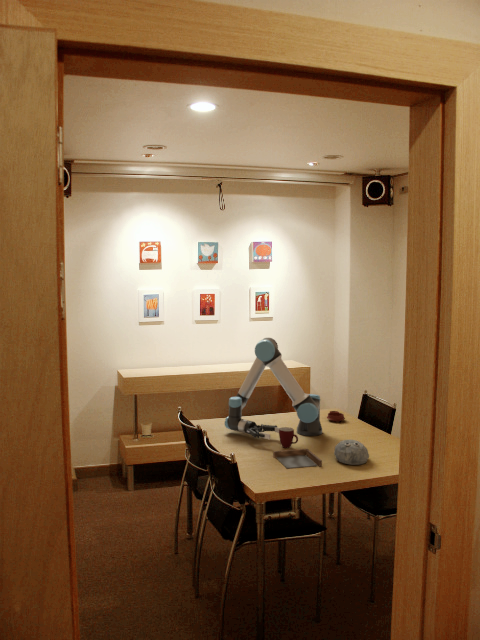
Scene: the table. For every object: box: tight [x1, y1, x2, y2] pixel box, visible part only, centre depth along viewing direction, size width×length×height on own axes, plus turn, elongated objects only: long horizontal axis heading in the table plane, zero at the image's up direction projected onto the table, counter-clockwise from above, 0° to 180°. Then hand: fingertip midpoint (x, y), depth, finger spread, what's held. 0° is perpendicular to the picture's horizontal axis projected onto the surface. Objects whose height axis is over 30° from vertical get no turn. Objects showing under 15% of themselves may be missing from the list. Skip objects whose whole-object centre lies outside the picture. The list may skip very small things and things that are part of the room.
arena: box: [272, 448, 323, 470], centre depth 278 cm, size 19×19×3 cm
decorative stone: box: [333, 439, 370, 466], centre depth 281 cm, size 18×21×10 cm
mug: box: [278, 426, 299, 449], centre depth 300 cm, size 10×8×10 cm
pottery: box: [326, 410, 346, 423], centre depth 360 cm, size 12×20×4 cm, turn 175°
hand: (277, 434), depth 304 cm, fingers open, 13 cm apart
